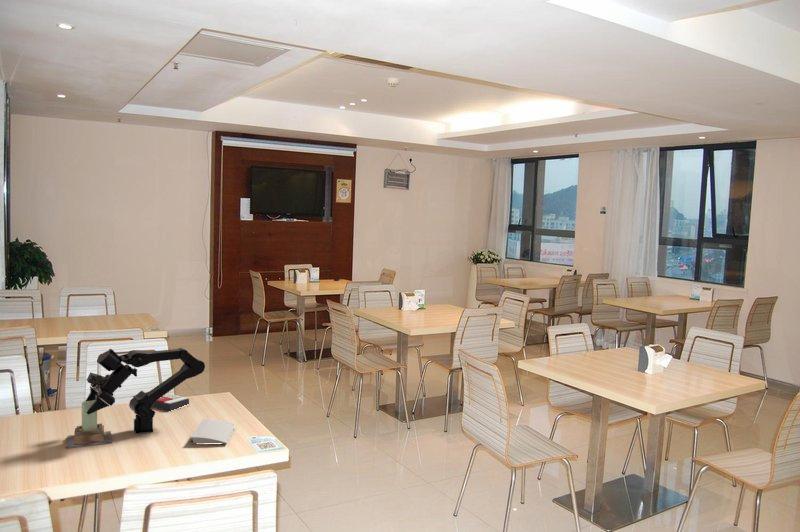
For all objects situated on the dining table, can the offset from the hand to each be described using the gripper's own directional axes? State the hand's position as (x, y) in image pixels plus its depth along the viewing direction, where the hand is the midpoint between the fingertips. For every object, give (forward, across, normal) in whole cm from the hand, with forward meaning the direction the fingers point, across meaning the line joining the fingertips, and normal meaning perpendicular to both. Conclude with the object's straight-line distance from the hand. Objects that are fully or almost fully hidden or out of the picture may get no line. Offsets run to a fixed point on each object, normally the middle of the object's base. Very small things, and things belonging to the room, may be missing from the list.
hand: (85, 410), depth 230 cm
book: (-21, +18, +39) cm, 48 cm away
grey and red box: (-18, -29, +36) cm, 50 cm away
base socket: (+7, 0, +9) cm, 12 cm away
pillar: (+5, 0, +7) cm, 8 cm away
